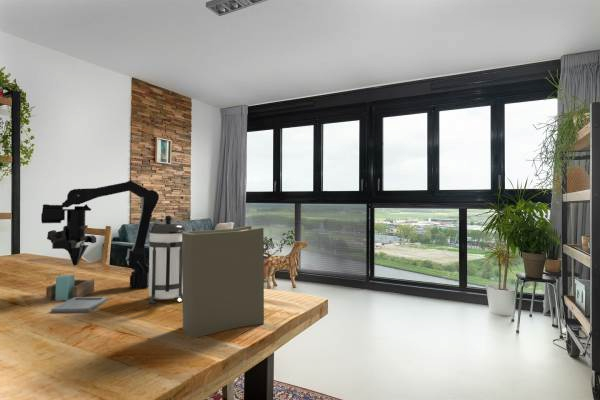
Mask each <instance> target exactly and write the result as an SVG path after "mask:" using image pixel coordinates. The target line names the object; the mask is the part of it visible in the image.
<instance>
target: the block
mask: <svg viewBox="0 0 600 400" xmlns="http://www.w3.org/2000/svg"><path fill="white" fill-rule="evenodd" d="M75 279H76V278H75V274H61V275H58V276H56V277H55V284H56V298H55V301H68V300H70V299H72V292H73V287H74V281H75Z"/></svg>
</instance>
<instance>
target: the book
mask: <svg viewBox="0 0 600 400" xmlns="http://www.w3.org/2000/svg"><path fill="white" fill-rule="evenodd" d="M264 235H265V234H264V227H258V228H252V225H247V226H245V225H244V226H241V227H240V226H239V227H234V228H226V229H225V228H223V229H209V230H208V229H206V230H192V231H191V230H189V231H188V230H187V231H185V232H182V293H183V294H182V295H183V302H182V332H183V333H184V335H185V336H187V337H189V338H190V339H195V338H200V337H203V336H208V335H211V334H215V333H220V332H223V331H228V330H233V329H237V328H241V327H247V326H256V325H264V324H265V289H264V288H265V284H264V283H265V281H264V280H265V268H264V267H265V265H264V262H265V261H264V257H265V256H264V254H265V253H264V250H265V248H264V246H265V245H264V243H265V242H264V241H265V240H264V239H265V238H264V237H265V236H264Z"/></svg>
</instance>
